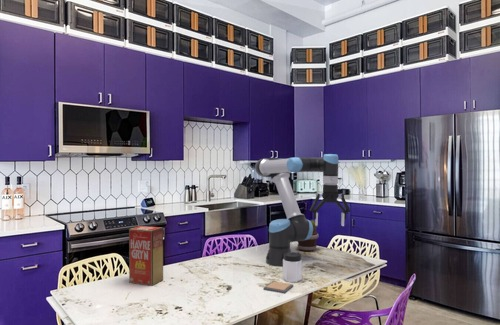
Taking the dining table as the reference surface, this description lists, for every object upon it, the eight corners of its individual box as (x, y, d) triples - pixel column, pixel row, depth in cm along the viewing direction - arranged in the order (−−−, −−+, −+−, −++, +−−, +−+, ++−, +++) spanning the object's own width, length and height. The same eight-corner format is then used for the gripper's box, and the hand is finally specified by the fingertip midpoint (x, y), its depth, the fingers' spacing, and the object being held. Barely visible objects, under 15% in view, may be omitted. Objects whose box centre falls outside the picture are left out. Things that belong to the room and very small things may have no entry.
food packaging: (127, 282, 164) (128, 228, 164) (140, 276, 173) (140, 225, 173) (152, 286, 160) (152, 230, 160) (164, 279, 169) (164, 226, 169)
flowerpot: (295, 252, 221) (295, 220, 221) (296, 246, 237) (296, 216, 237) (318, 253, 219) (319, 220, 219) (318, 247, 234) (318, 217, 234)
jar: (304, 281, 167) (304, 255, 167) (288, 283, 164) (288, 257, 164) (295, 275, 175) (295, 251, 175) (280, 277, 172) (280, 252, 172)
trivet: (263, 289, 156) (263, 287, 156) (272, 282, 164) (272, 280, 164) (284, 293, 151) (284, 291, 151) (293, 286, 160) (293, 284, 160)
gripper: (307, 184, 179) (306, 226, 179) (356, 185, 179) (355, 227, 180) (304, 183, 186) (304, 223, 187) (352, 184, 187) (351, 224, 187)
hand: (329, 225), depth 183 cm, fingers open, 13 cm apart
